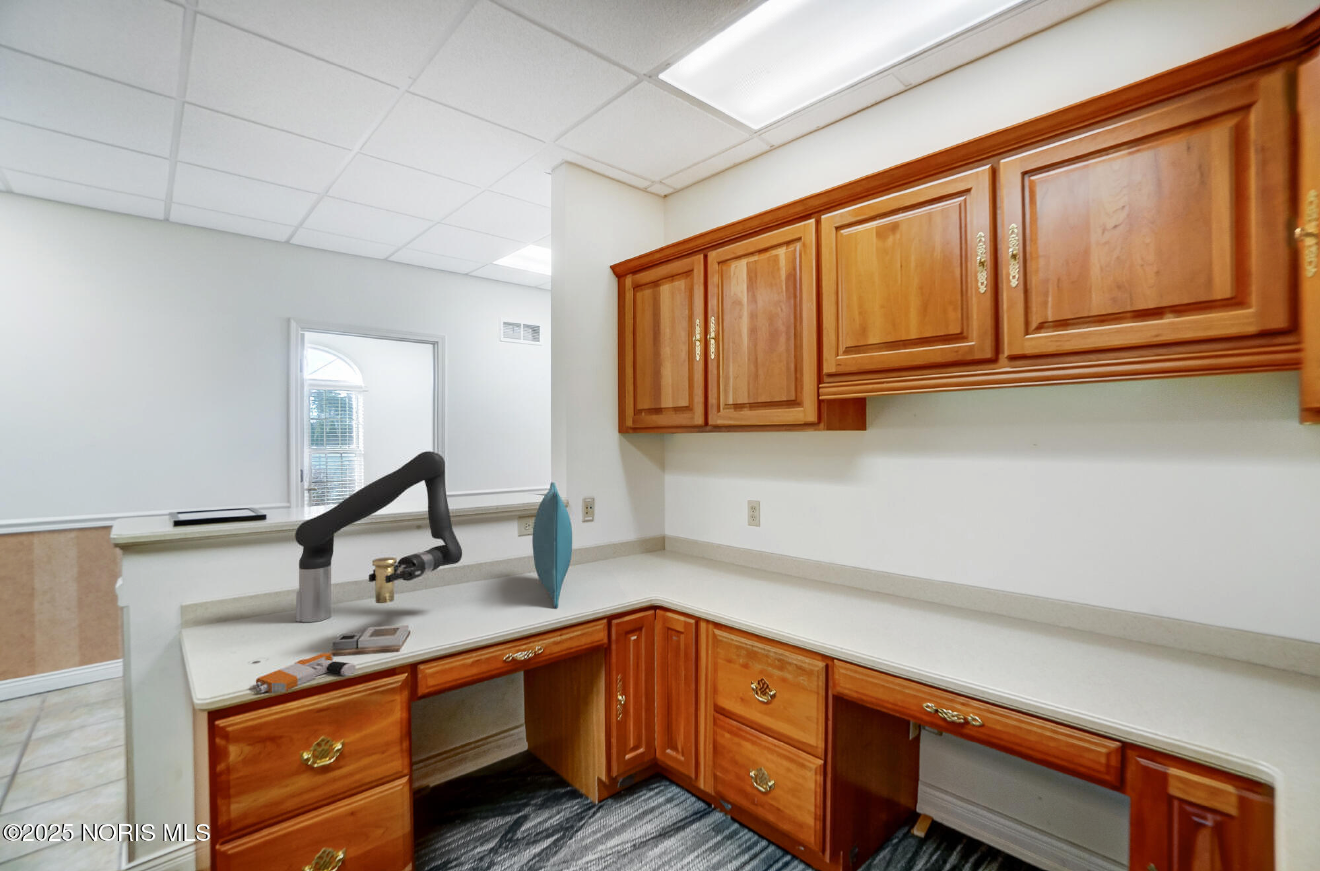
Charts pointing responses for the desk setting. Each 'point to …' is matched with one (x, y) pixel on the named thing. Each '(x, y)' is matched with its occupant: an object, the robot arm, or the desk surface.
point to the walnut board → (368, 650)
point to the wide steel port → (383, 637)
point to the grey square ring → (346, 642)
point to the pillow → (552, 542)
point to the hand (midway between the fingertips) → (378, 578)
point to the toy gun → (302, 673)
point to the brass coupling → (384, 579)
